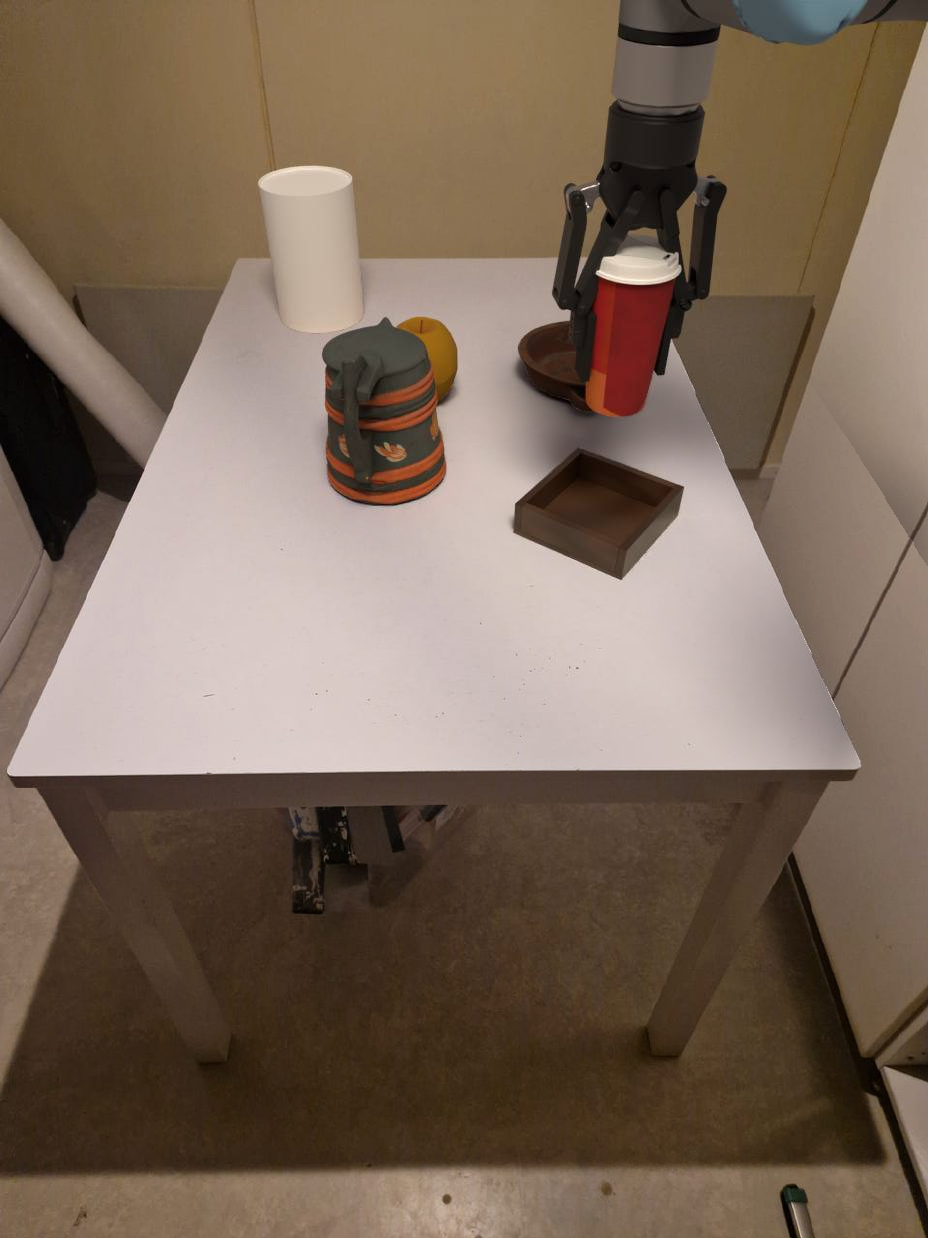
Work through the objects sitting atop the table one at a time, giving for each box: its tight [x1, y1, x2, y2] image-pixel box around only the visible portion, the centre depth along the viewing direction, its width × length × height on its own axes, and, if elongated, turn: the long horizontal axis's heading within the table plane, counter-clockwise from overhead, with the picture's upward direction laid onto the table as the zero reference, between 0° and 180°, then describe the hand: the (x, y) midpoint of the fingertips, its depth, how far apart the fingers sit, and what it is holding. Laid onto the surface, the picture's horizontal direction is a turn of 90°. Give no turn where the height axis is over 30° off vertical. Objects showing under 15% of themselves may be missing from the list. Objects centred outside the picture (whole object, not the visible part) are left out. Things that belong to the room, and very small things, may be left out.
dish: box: [517, 320, 594, 413], centre depth 116 cm, size 18×22×5 cm
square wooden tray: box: [513, 446, 685, 581], centre depth 93 cm, size 14×14×4 cm
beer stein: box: [321, 316, 447, 505], centre depth 93 cm, size 19×15×20 cm
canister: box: [257, 165, 365, 334], centre depth 127 cm, size 14×14×20 cm
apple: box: [395, 316, 459, 403], centre depth 110 cm, size 10×10×12 cm
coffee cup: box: [586, 233, 681, 418], centre depth 78 cm, size 8×8×15 cm
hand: (619, 371), depth 81 cm, fingers closed on coffee cup, 7 cm apart
